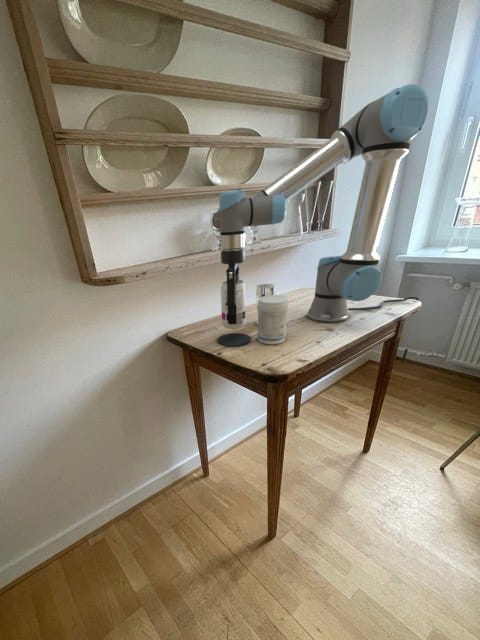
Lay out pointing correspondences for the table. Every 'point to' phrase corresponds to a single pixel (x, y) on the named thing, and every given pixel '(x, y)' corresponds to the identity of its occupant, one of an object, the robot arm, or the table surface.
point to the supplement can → (239, 305)
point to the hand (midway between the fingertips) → (233, 319)
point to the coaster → (234, 339)
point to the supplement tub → (272, 319)
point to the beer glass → (263, 292)
